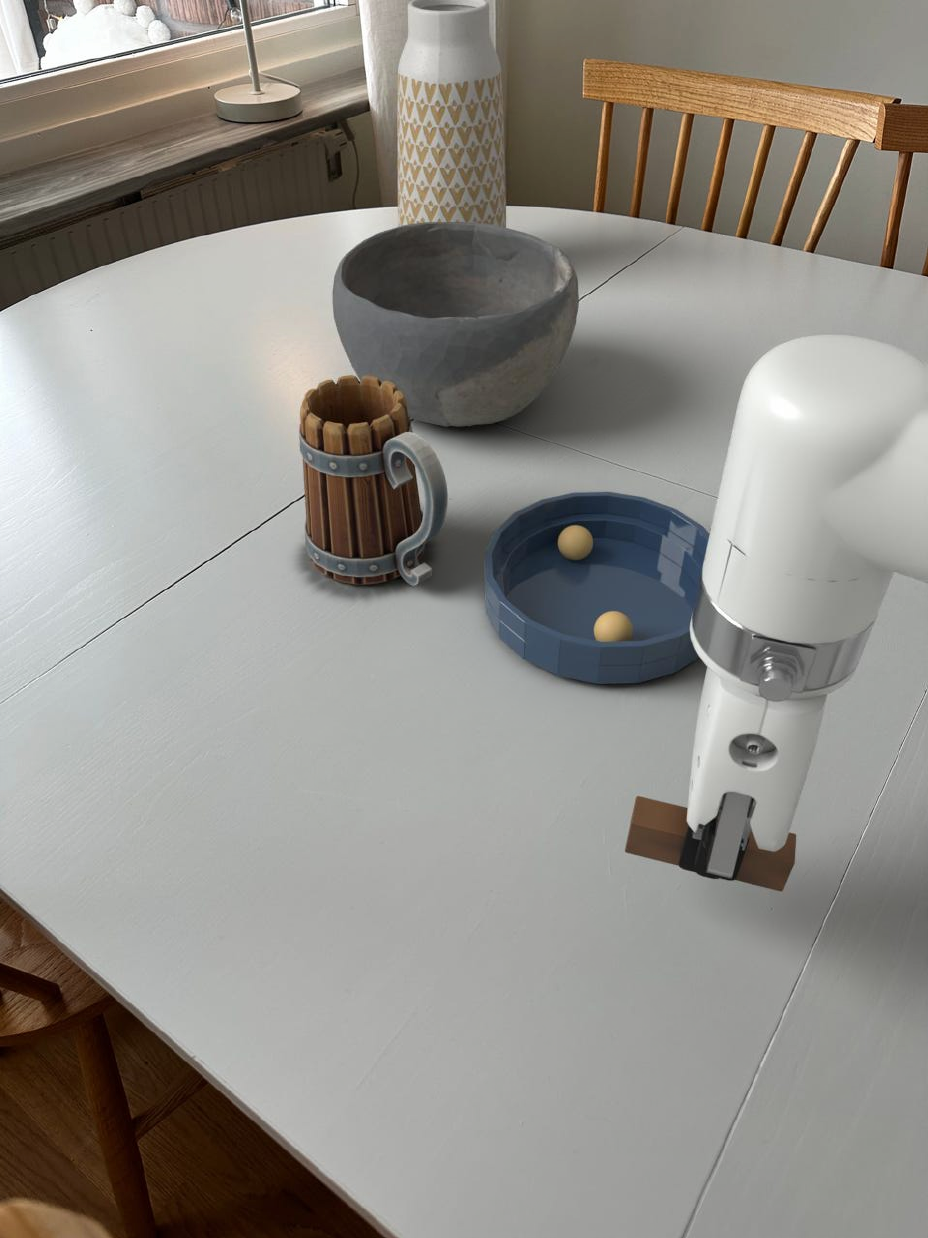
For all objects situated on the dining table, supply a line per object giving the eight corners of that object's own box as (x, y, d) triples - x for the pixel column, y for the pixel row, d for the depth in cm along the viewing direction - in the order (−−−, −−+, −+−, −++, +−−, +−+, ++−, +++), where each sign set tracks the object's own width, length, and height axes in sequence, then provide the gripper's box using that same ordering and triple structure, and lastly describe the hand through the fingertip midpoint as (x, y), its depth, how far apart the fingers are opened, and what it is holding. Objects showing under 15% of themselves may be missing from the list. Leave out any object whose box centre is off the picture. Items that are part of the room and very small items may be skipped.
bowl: (581, 463, 96) (593, 319, 86) (333, 466, 96) (315, 322, 86) (561, 344, 114) (569, 214, 104) (352, 347, 114) (340, 217, 104)
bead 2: (617, 640, 78) (645, 641, 75) (592, 655, 76) (619, 656, 74) (607, 605, 77) (635, 605, 75) (581, 619, 76) (609, 620, 73)
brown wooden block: (784, 863, 57) (796, 833, 54) (782, 892, 55) (795, 863, 53) (629, 825, 58) (636, 795, 56) (624, 852, 57) (630, 822, 55)
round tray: (730, 553, 85) (739, 512, 82) (705, 711, 72) (715, 669, 69) (517, 517, 90) (518, 476, 87) (456, 660, 76) (455, 618, 73)
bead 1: (592, 528, 81) (559, 519, 83) (581, 562, 82) (549, 553, 83) (601, 532, 84) (569, 523, 85) (591, 565, 84) (559, 556, 86)
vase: (394, 256, 133) (379, -8, 112) (493, 248, 135) (496, -13, 114) (408, 299, 123) (394, 19, 102) (515, 290, 125) (522, 12, 104)
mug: (283, 547, 87) (258, 397, 77) (377, 500, 92) (365, 353, 82) (393, 638, 78) (380, 482, 68) (490, 580, 83) (492, 427, 73)
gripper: (868, 771, 37) (766, 997, 50) (867, 526, 48) (784, 761, 61) (671, 728, 39) (620, 957, 51) (714, 500, 50) (663, 735, 63)
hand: (709, 849), depth 56 cm, fingers closed on brown wooden block, 2 cm apart
